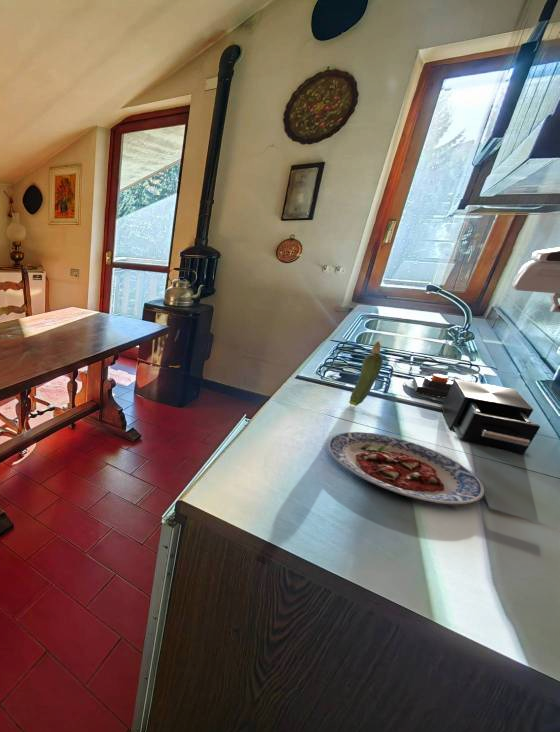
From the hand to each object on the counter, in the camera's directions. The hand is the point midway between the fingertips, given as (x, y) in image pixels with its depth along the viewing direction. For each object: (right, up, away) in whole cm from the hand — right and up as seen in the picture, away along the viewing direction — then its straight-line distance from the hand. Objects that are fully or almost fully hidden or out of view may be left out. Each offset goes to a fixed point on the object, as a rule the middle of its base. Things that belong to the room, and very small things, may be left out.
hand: (558, 312), depth 99 cm
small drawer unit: (-23, -32, -4) cm, 40 cm away
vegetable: (-39, -25, +15) cm, 49 cm away
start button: (-7, -17, +24) cm, 30 cm away
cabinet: (-16, -29, +5) cm, 34 cm away
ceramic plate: (-54, -38, -14) cm, 67 cm away
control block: (-7, -21, +25) cm, 33 cm away
